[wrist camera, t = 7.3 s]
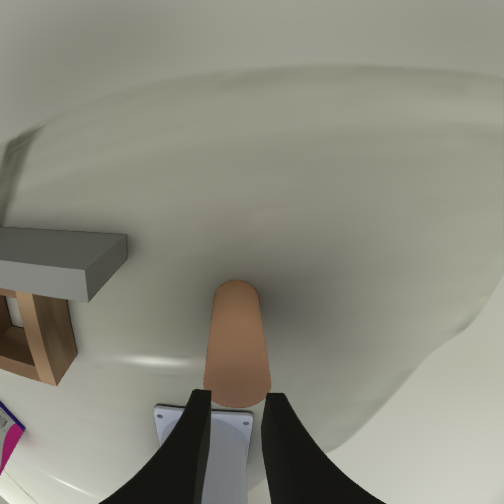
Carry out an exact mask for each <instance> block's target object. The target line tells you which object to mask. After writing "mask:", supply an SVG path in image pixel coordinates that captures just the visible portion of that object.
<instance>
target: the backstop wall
mask: <svg viewBox="0 0 504 504" xmlns="http://www.w3.org/2000/svg"><path fill="white" fill-rule="evenodd" d="M126 260H127V235H126V234H110V233H94V232H78V231H62V230H45V229H28V228H10V227H0V288H3V289H9V290H14V291H19V292H25V293H30V294H36V295H42V296H48V297H54V298H60V299H67V300H74V301H80V302H87V303H89V301H90V300H91V299H92V298H93V297H94V296H95V295H96V293H97V292H98V291H99V290H100V289H101V288H102V287H103V285H104V284H105V283H106V282H107V281H108V280H109V279H110V278H111V277H112V275H113V274H114V273H115V272H116V271H117V270H118V269H119V268H120V267H121V266H122V265H123V263H124V262H125V261H126Z"/></svg>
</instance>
